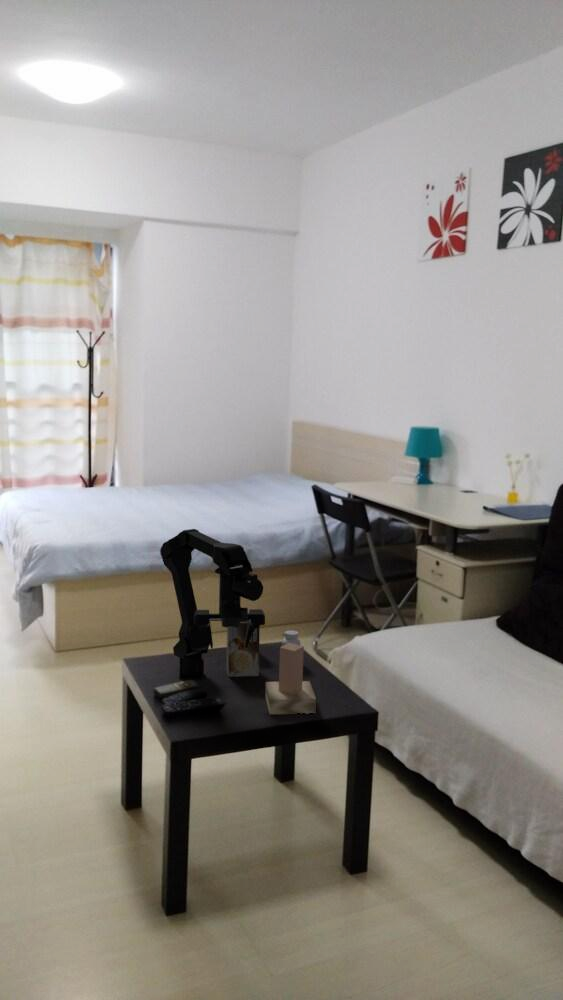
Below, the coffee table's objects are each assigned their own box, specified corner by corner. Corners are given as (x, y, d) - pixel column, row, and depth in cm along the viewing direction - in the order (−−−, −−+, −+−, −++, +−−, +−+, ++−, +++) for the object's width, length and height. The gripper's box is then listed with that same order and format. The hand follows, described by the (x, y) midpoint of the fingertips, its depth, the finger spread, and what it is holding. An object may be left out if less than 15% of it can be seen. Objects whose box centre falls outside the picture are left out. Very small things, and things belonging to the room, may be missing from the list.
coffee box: (257, 668, 254) (258, 616, 251) (259, 676, 248) (260, 623, 245) (225, 669, 253) (226, 616, 250) (227, 677, 247) (228, 623, 244)
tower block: (292, 694, 226) (294, 651, 223) (278, 690, 228) (280, 647, 226) (302, 689, 229) (303, 646, 227) (288, 685, 232) (289, 642, 230)
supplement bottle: (301, 666, 257) (302, 635, 255) (283, 667, 256) (284, 635, 254) (297, 659, 262) (298, 629, 261) (280, 660, 261) (281, 629, 259)
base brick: (269, 714, 223) (270, 699, 222) (265, 695, 234) (265, 681, 234) (315, 713, 224) (316, 698, 223) (308, 695, 236) (309, 681, 235)
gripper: (195, 601, 221) (194, 659, 224) (267, 600, 223) (266, 658, 226) (194, 589, 232) (194, 644, 235) (263, 588, 234) (262, 643, 237)
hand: (228, 647), depth 233 cm, fingers open, 9 cm apart
